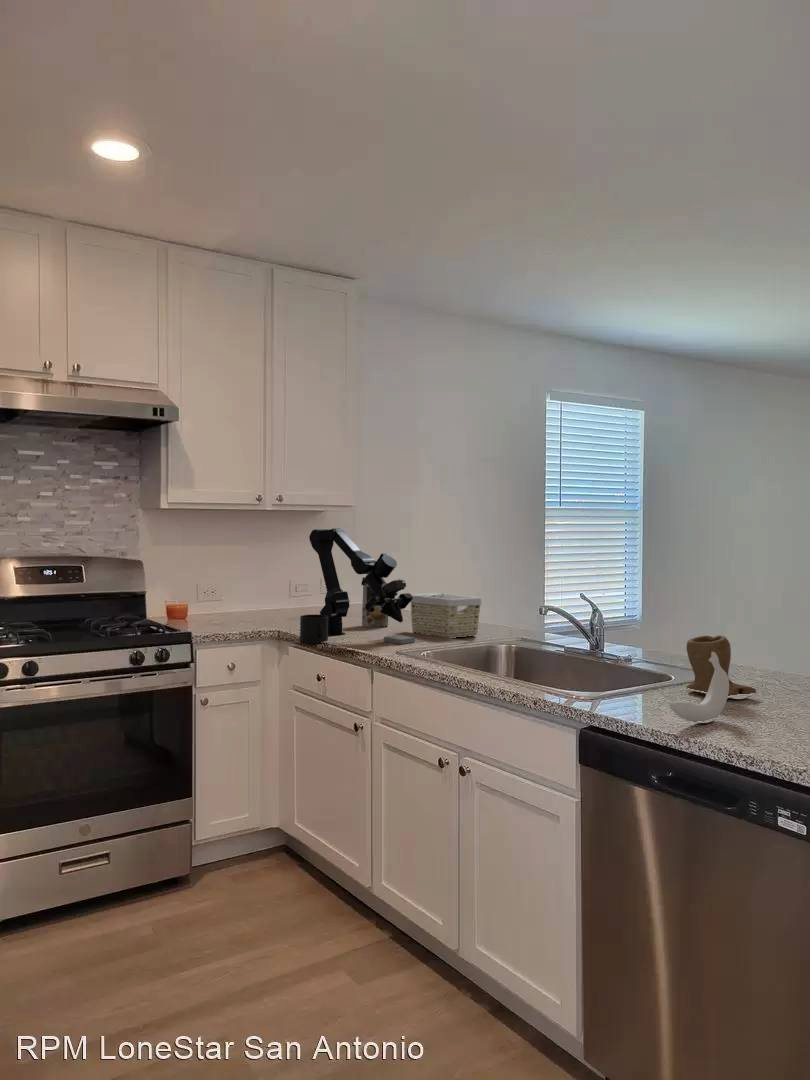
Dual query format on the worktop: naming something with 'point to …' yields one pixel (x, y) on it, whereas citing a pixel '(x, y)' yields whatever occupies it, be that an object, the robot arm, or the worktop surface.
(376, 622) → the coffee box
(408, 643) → the board
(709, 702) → the banana
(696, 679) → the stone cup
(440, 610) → the storage basket
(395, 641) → the tile
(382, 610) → the robot arm
